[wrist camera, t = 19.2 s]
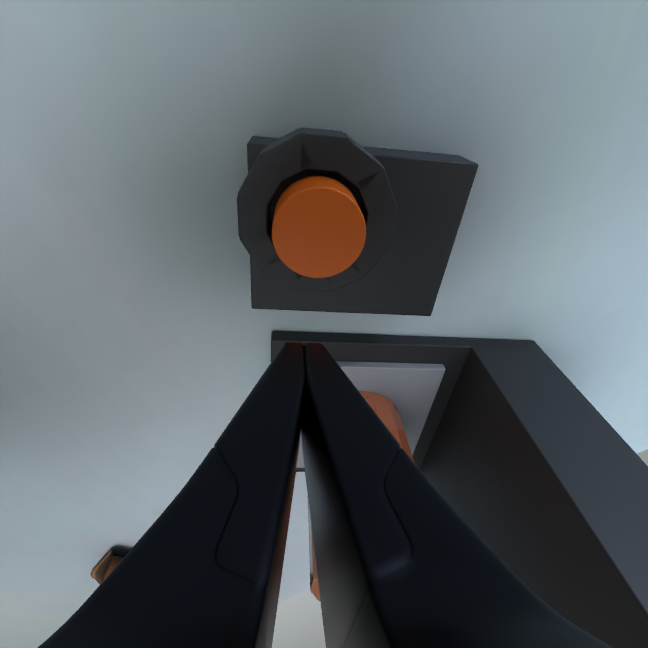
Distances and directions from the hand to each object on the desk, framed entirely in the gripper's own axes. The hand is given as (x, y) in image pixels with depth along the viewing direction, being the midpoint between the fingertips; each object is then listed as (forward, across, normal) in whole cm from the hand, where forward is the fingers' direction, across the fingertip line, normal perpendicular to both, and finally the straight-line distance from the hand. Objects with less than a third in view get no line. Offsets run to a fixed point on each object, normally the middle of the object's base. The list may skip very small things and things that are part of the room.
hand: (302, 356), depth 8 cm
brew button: (+8, -1, -1) cm, 8 cm away
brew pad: (+12, -3, +1) cm, 12 cm away
